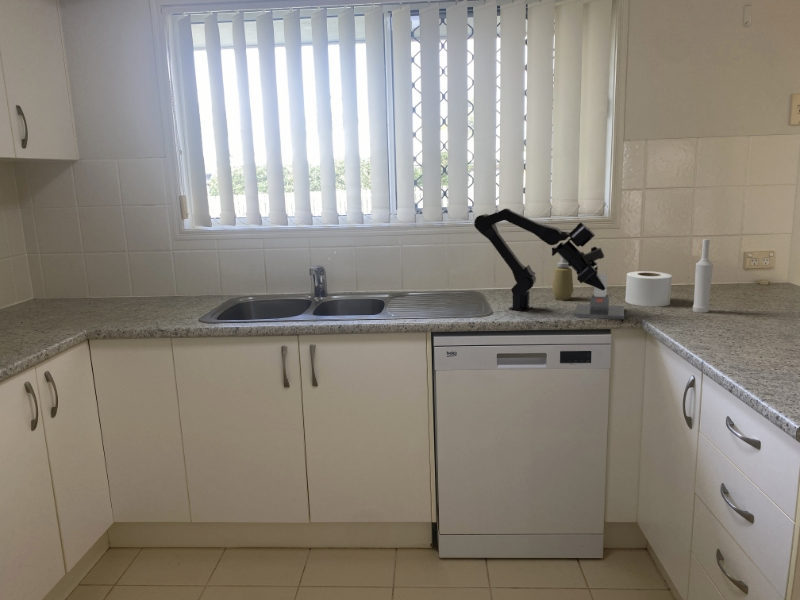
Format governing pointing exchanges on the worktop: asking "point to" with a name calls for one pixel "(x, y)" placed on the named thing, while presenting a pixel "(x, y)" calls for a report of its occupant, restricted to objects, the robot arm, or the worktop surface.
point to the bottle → (703, 280)
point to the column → (603, 279)
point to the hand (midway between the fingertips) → (604, 288)
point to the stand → (599, 309)
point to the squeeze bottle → (562, 281)
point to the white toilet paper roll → (648, 288)
